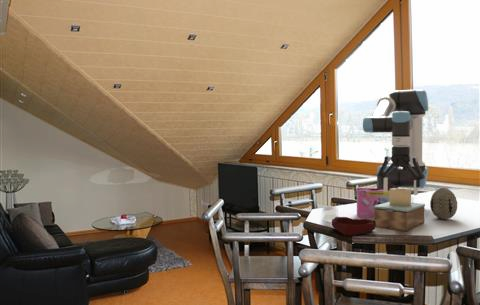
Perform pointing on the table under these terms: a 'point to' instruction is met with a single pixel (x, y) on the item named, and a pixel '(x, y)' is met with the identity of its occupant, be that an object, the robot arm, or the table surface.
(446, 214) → the decorative egg
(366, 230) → the dark red bean shape
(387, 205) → the lid
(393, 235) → the table surface
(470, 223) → the table surface
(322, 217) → the table surface
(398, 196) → the beige rounded cone
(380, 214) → the chest
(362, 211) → the gum box
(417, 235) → the table surface
